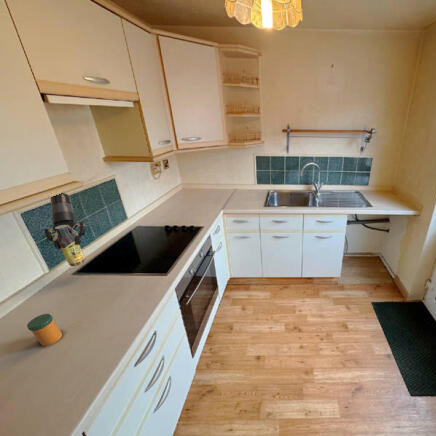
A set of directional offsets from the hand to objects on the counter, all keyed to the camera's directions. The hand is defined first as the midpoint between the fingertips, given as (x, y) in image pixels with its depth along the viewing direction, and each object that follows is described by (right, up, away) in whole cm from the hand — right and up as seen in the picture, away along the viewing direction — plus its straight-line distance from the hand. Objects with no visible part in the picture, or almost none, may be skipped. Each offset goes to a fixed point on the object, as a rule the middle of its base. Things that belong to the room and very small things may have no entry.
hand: (68, 246), depth 105 cm
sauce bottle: (-1, -9, +6) cm, 11 cm away
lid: (+15, -23, -25) cm, 37 cm away
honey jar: (+15, -32, -21) cm, 41 cm away
